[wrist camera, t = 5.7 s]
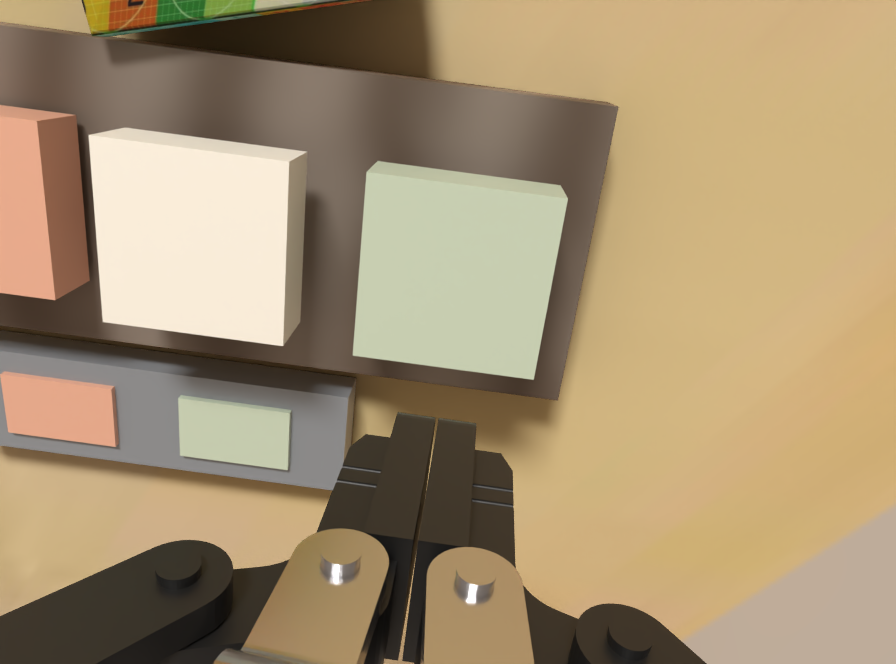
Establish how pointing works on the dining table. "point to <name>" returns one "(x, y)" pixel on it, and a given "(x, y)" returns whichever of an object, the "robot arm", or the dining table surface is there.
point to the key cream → (199, 234)
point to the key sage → (456, 268)
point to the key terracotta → (41, 204)
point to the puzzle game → (183, 12)
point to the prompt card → (174, 410)
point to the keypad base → (314, 173)
